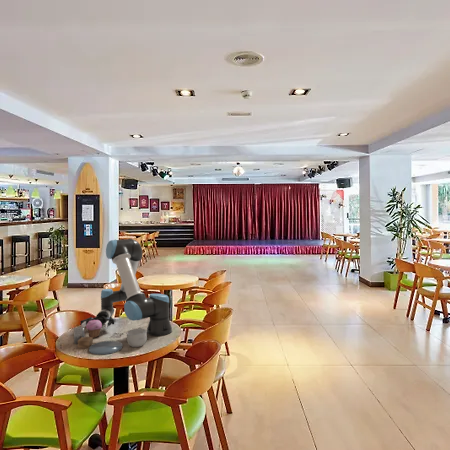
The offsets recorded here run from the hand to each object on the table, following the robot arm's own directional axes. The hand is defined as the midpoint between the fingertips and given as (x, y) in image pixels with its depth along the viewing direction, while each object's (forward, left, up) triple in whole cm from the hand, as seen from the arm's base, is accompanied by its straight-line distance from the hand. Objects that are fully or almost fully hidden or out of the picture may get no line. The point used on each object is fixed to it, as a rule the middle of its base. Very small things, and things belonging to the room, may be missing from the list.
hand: (93, 326), depth 216 cm
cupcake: (-1, +1, -6) cm, 6 cm away
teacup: (-31, +11, -6) cm, 33 cm away
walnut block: (-3, +16, -6) cm, 17 cm away
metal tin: (+3, +11, -6) cm, 13 cm away
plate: (-16, +19, -6) cm, 25 cm away
